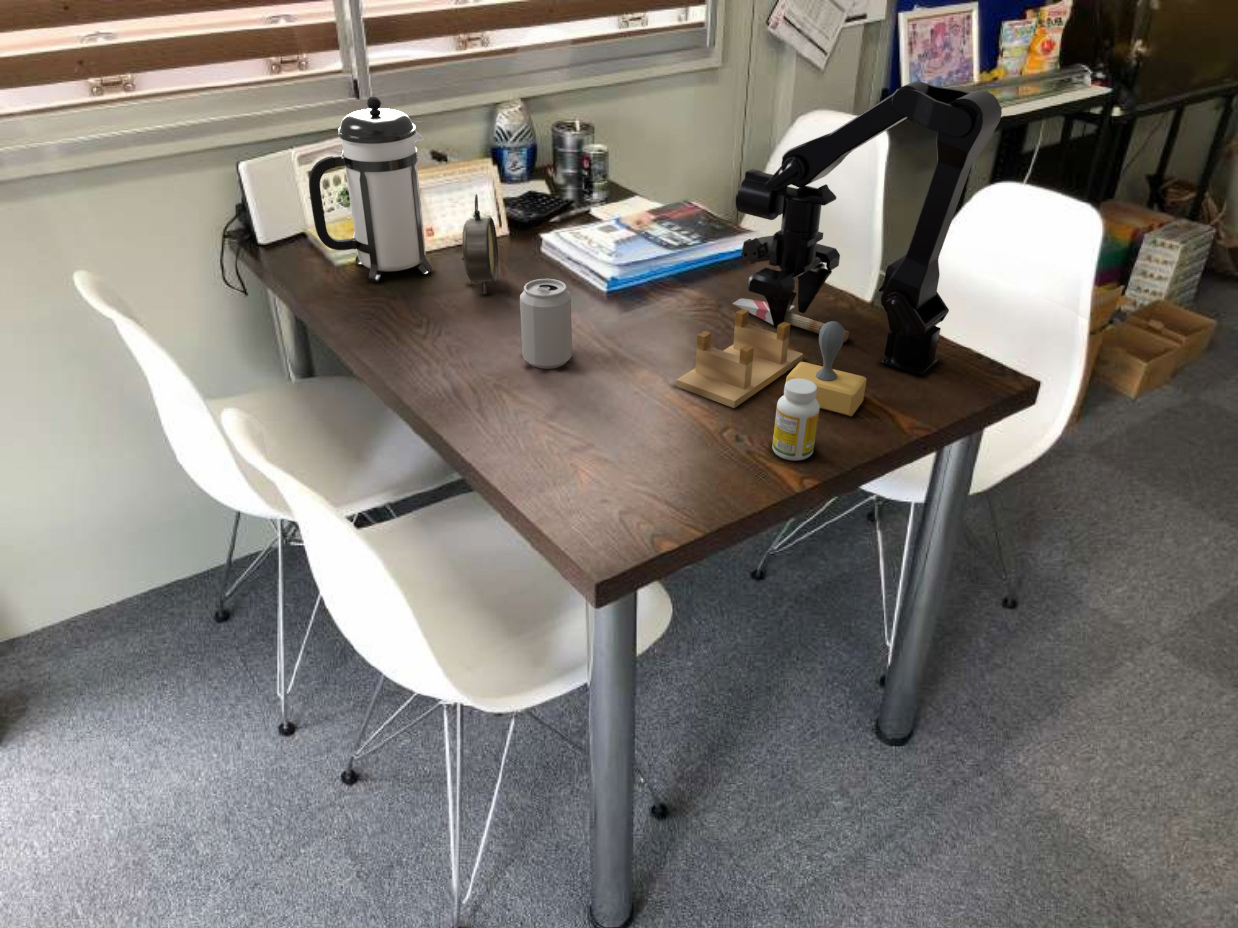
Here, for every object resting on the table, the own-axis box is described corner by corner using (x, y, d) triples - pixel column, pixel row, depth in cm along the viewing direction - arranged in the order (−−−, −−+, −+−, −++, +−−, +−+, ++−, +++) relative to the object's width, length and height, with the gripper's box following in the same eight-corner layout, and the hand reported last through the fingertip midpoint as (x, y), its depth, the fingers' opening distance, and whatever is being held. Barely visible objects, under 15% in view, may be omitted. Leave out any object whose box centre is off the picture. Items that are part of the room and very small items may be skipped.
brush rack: (802, 360, 153) (808, 317, 149) (734, 408, 140) (738, 362, 136) (746, 342, 158) (750, 299, 154) (676, 386, 145) (678, 341, 142)
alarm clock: (493, 298, 171) (487, 205, 163) (462, 297, 172) (454, 204, 163) (500, 273, 181) (495, 184, 172) (470, 273, 181) (464, 183, 172)
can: (580, 354, 154) (579, 281, 147) (557, 375, 148) (555, 299, 142) (537, 345, 156) (534, 272, 150) (513, 365, 151) (509, 290, 144)
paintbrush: (743, 289, 168) (853, 325, 158) (741, 304, 169) (849, 340, 160) (731, 296, 165) (842, 333, 156) (729, 311, 167) (839, 349, 157)
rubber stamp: (783, 399, 142) (791, 322, 136) (797, 383, 147) (806, 307, 140) (850, 417, 138) (863, 338, 132) (863, 399, 143) (876, 322, 136)
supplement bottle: (777, 462, 129) (784, 396, 123) (767, 440, 133) (774, 376, 128) (818, 460, 129) (827, 395, 124) (807, 439, 134) (816, 374, 128)
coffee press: (378, 247, 191) (357, 82, 174) (450, 260, 186) (436, 91, 169) (320, 280, 177) (292, 104, 161) (397, 295, 172) (376, 115, 156)
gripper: (785, 200, 165) (776, 289, 173) (722, 231, 152) (716, 325, 161) (847, 215, 159) (834, 306, 167) (786, 248, 146) (776, 345, 155)
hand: (789, 320), depth 163 cm, fingers open, 7 cm apart
